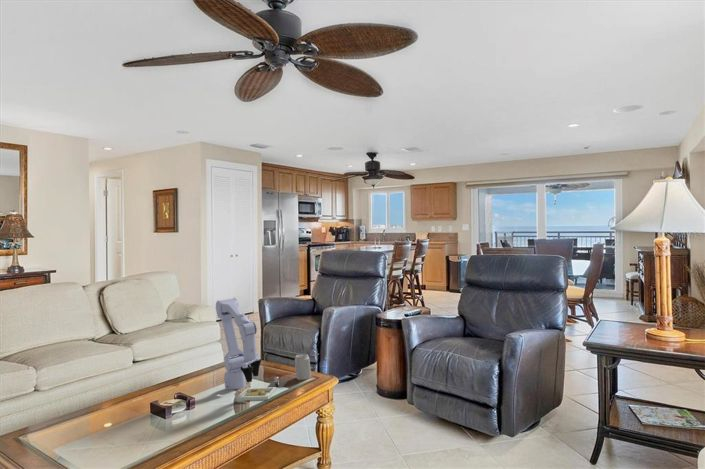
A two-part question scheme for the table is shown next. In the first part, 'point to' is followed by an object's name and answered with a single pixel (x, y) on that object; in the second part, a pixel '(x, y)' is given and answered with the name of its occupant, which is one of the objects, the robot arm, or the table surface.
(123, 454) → the table surface
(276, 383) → the square base with knob
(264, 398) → the tray
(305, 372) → the can
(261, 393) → the square frame with tab
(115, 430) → the table surface
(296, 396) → the table surface
